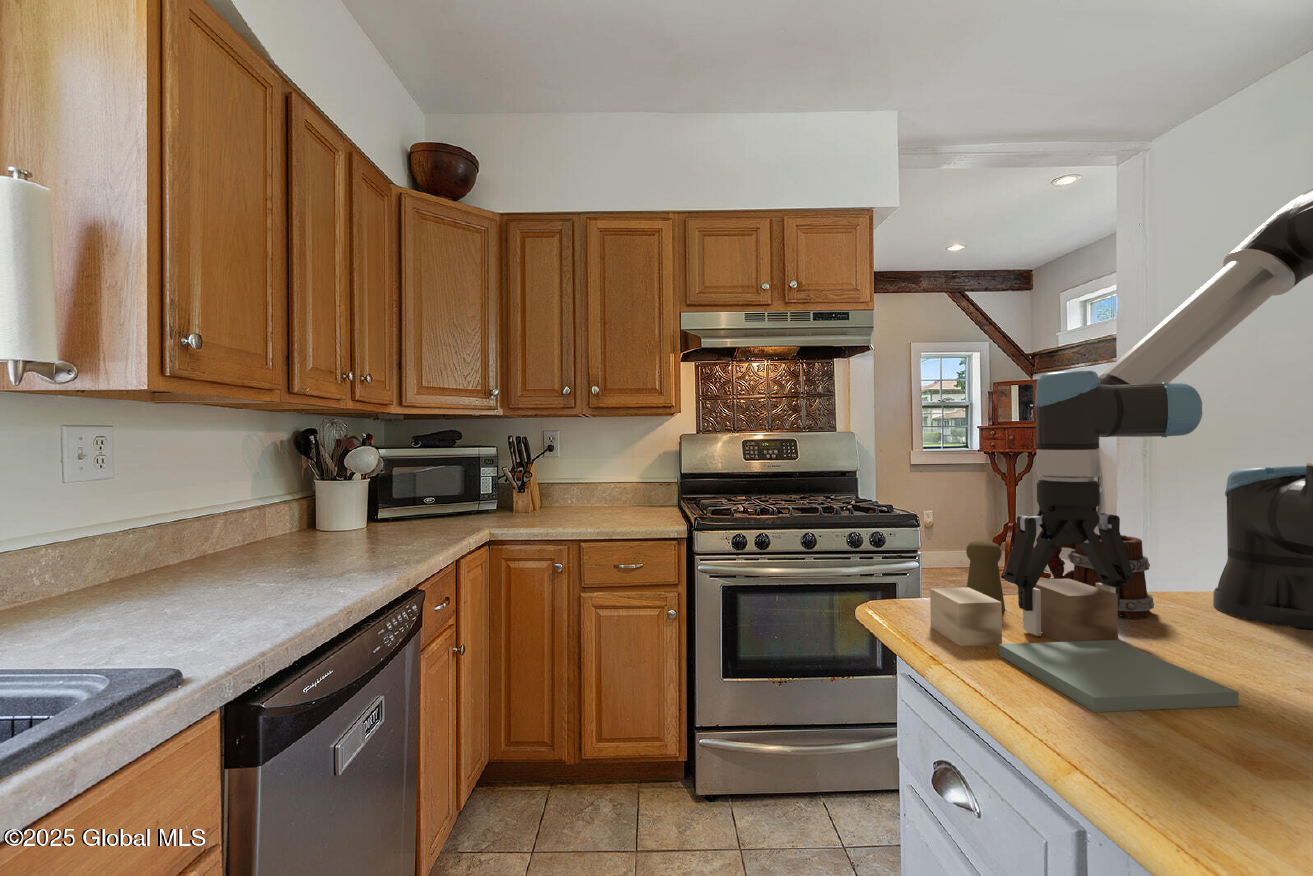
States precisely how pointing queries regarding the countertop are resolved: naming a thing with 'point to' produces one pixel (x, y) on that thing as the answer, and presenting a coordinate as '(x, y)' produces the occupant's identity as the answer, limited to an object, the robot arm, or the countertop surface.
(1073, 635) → the walnut brick
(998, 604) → the maple cap block
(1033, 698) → the countertop surface
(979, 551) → the olive pepper shaker
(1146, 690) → the baseplate
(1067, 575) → the mug
